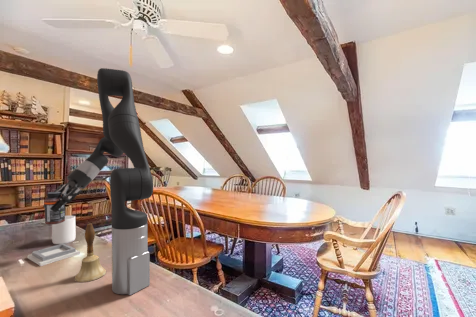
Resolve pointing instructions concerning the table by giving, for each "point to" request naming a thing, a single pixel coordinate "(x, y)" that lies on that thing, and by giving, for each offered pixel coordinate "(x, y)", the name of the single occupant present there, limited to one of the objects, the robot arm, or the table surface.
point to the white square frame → (52, 254)
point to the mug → (64, 231)
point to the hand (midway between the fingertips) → (49, 209)
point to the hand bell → (90, 260)
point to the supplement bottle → (50, 215)
